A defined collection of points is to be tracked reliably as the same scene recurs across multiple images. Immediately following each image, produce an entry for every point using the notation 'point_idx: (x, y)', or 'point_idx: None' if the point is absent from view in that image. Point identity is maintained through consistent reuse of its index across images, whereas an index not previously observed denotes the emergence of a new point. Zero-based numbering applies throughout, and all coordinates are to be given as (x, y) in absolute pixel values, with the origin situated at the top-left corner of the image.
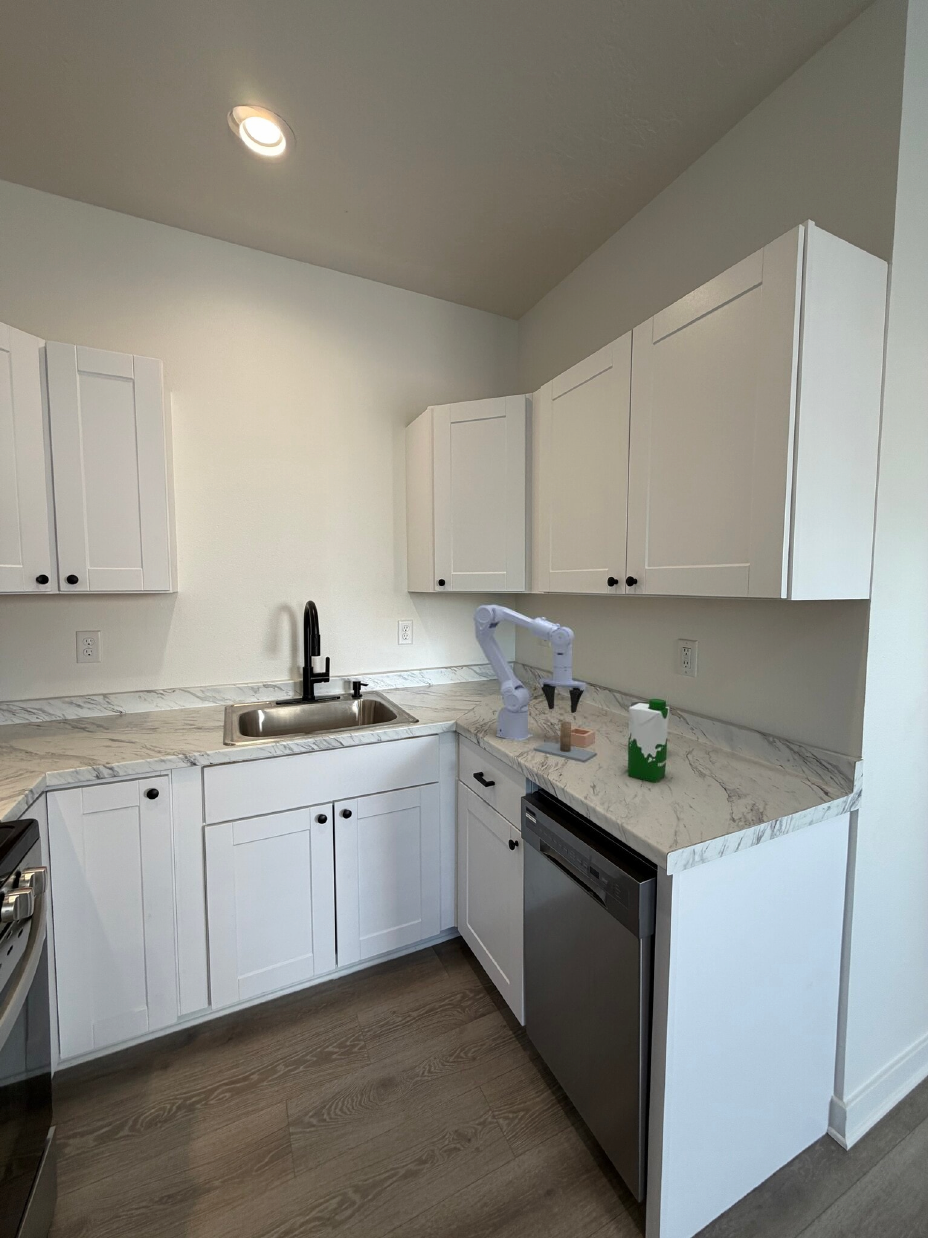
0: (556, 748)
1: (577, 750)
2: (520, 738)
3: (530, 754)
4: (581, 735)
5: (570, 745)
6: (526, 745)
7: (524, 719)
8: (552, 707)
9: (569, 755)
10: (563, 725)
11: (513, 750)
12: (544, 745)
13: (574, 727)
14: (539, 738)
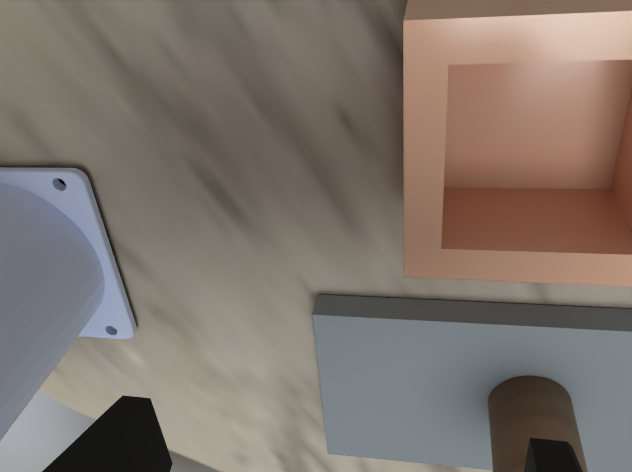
0: (454, 402)
1: (620, 368)
2: (100, 307)
3: (339, 462)
4: (625, 284)
5: (580, 440)
6: (211, 356)
7: (17, 398)
8: (149, 442)
9: (599, 469)
10: None
11: (226, 452)
12: (348, 390)
13: (411, 31)
14: (152, 173)
